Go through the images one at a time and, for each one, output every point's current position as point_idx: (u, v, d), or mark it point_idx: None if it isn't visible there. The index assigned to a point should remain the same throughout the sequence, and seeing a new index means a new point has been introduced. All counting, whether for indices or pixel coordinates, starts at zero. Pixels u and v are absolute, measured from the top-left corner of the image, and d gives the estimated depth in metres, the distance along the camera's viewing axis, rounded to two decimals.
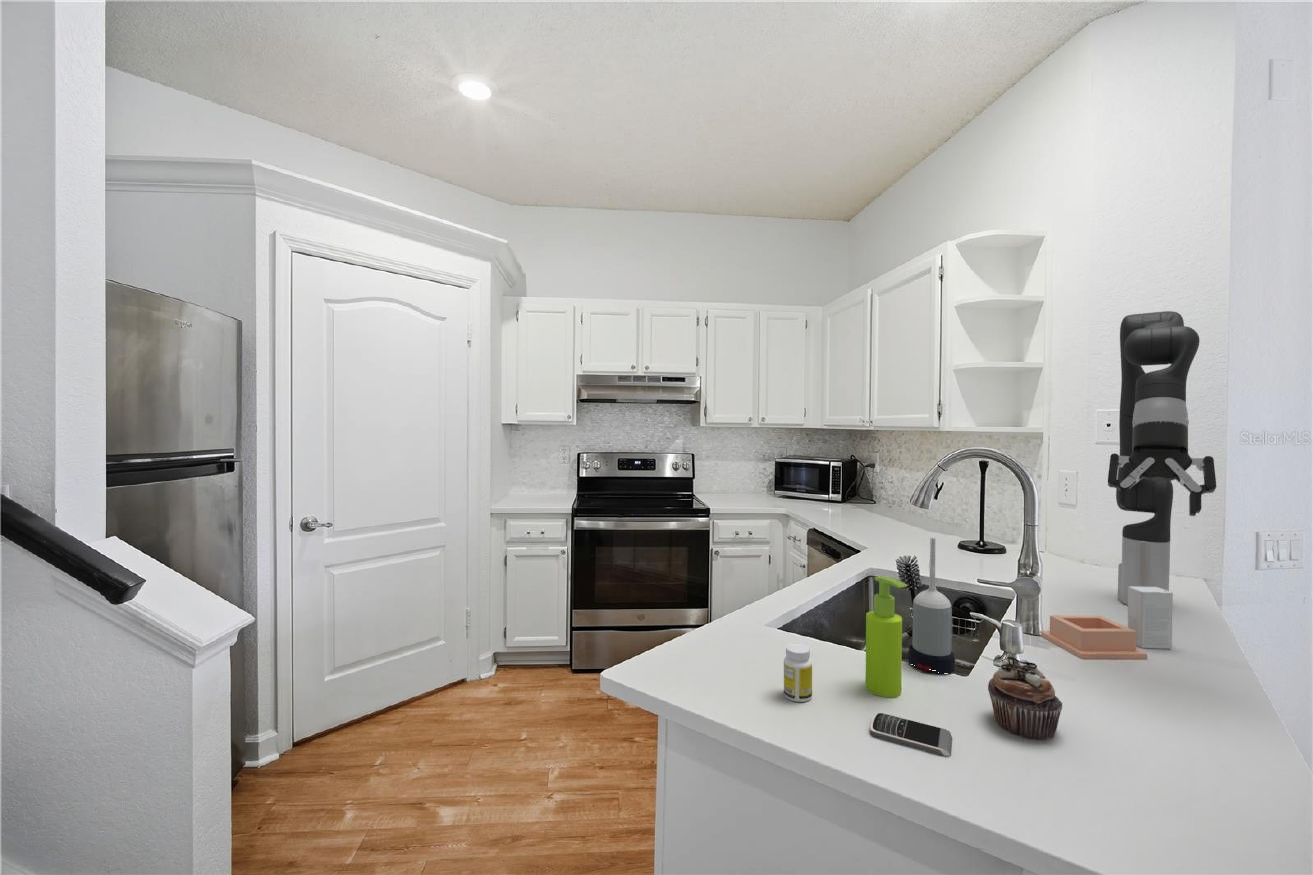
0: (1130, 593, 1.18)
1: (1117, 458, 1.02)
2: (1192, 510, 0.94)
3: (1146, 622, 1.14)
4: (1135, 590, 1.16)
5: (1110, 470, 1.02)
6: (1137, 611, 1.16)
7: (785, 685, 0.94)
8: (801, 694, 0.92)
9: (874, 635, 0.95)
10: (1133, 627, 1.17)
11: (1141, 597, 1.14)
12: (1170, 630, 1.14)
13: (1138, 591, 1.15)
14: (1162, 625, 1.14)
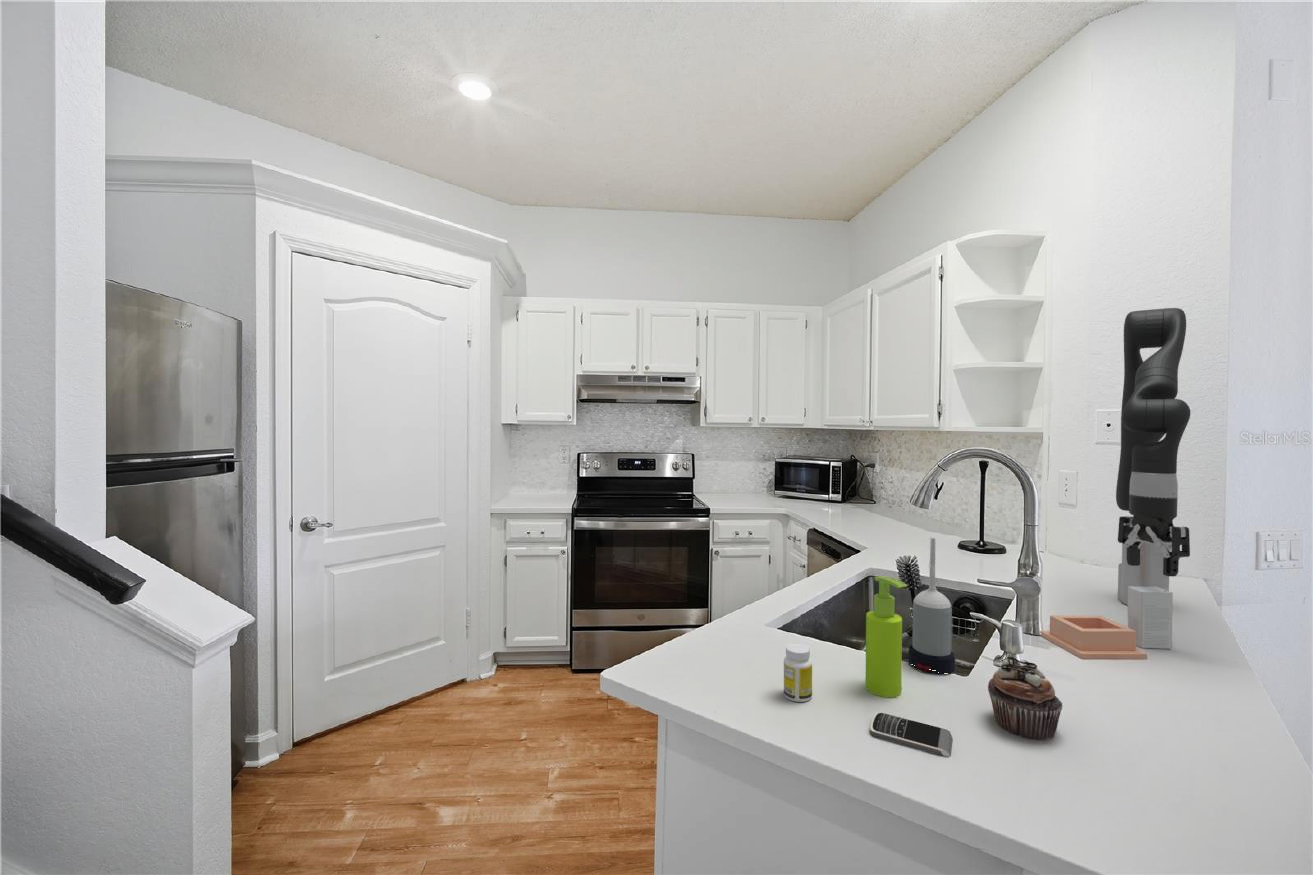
0: (1130, 593, 1.18)
1: (1123, 521, 1.21)
2: (1164, 573, 1.12)
3: (1146, 622, 1.14)
4: (1135, 590, 1.16)
5: (1119, 531, 1.22)
6: (1137, 611, 1.16)
7: (785, 685, 0.94)
8: (801, 694, 0.92)
9: (874, 635, 0.95)
10: (1133, 627, 1.17)
11: (1141, 597, 1.14)
12: (1170, 630, 1.14)
13: (1138, 591, 1.15)
14: (1162, 625, 1.14)
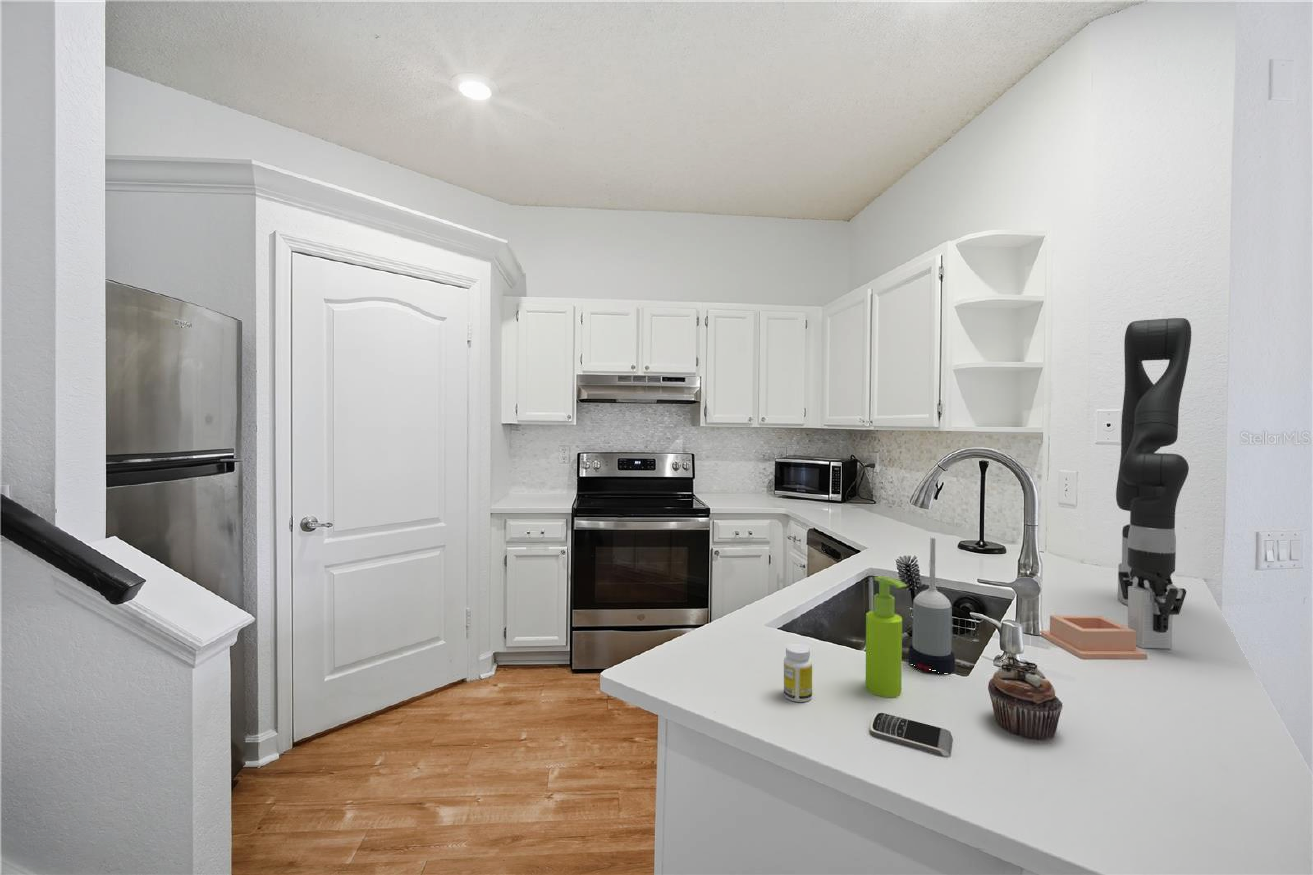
0: (1130, 593, 1.17)
1: (1122, 576, 1.22)
2: (1154, 629, 1.14)
3: (1146, 622, 1.14)
4: (1135, 590, 1.16)
5: (1121, 587, 1.22)
6: (1137, 611, 1.16)
7: (785, 685, 0.94)
8: (801, 694, 0.92)
9: (874, 635, 0.95)
10: (1133, 626, 1.17)
11: (1142, 597, 1.14)
12: (1170, 630, 1.14)
13: (1138, 591, 1.15)
14: None
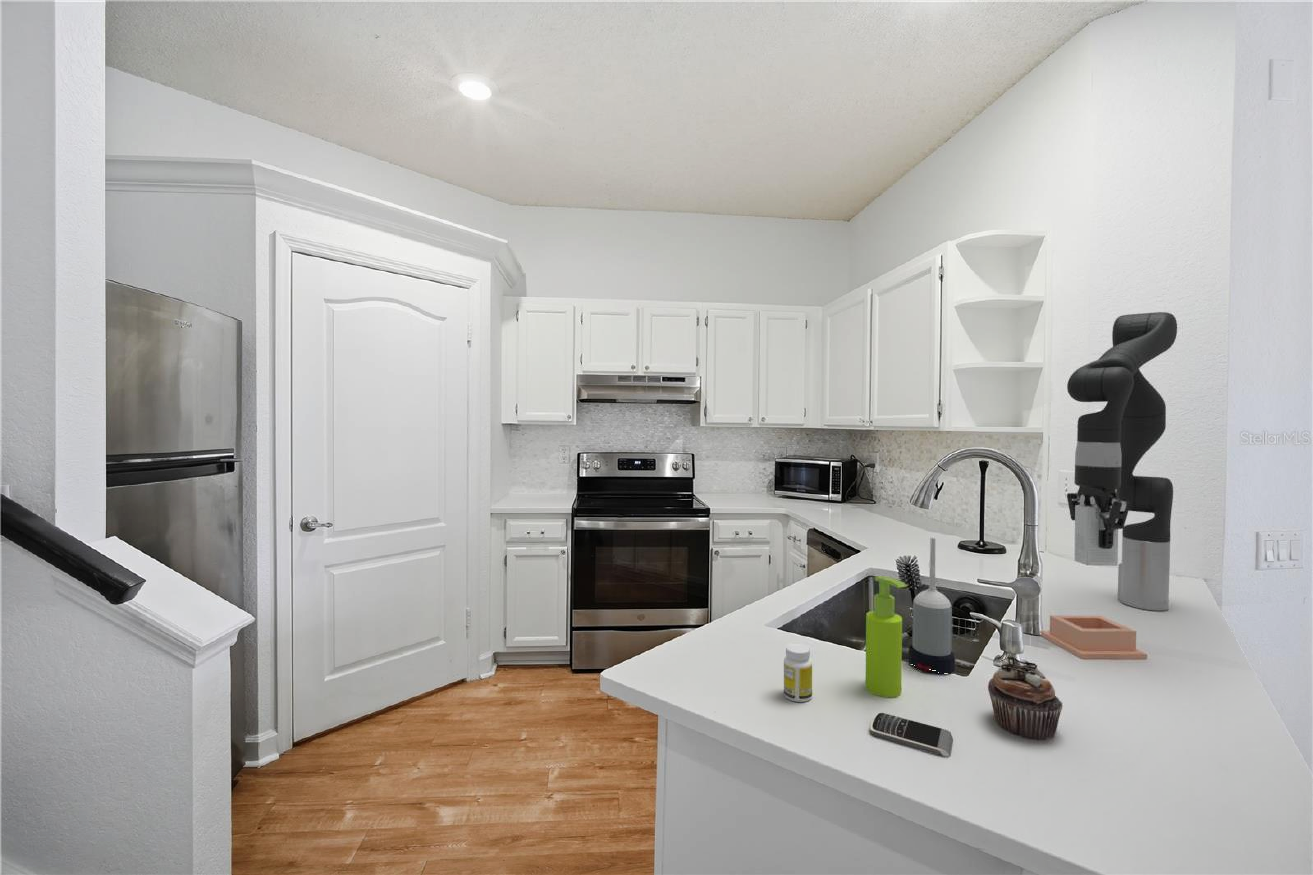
0: (1077, 511, 1.16)
1: (1070, 497, 1.20)
2: (1099, 545, 1.12)
3: (1092, 539, 1.13)
4: (1081, 507, 1.14)
5: (1070, 508, 1.20)
6: (1083, 528, 1.14)
7: (785, 685, 0.94)
8: (801, 694, 0.92)
9: (874, 635, 0.95)
10: (1079, 545, 1.15)
11: (1087, 514, 1.13)
12: (1116, 547, 1.12)
13: (1084, 508, 1.14)
14: None
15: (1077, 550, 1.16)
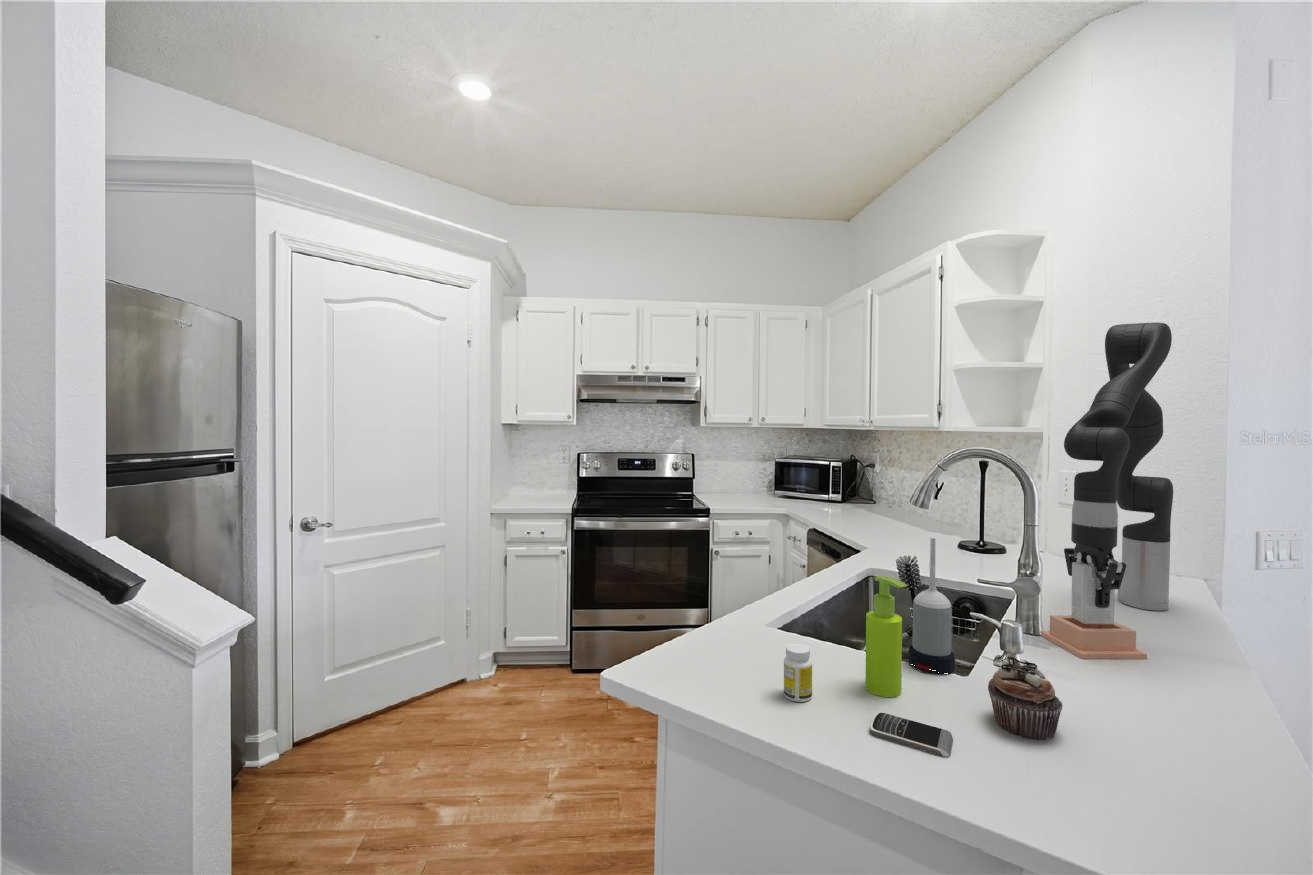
0: (1074, 569, 1.16)
1: (1067, 552, 1.21)
2: (1096, 604, 1.13)
3: (1088, 598, 1.13)
4: (1078, 566, 1.15)
5: (1067, 564, 1.21)
6: (1080, 586, 1.14)
7: (785, 685, 0.94)
8: (801, 694, 0.92)
9: (874, 635, 0.95)
10: (1076, 602, 1.16)
11: (1084, 572, 1.13)
12: (1113, 606, 1.13)
13: (1081, 566, 1.14)
14: None
15: (1074, 608, 1.16)
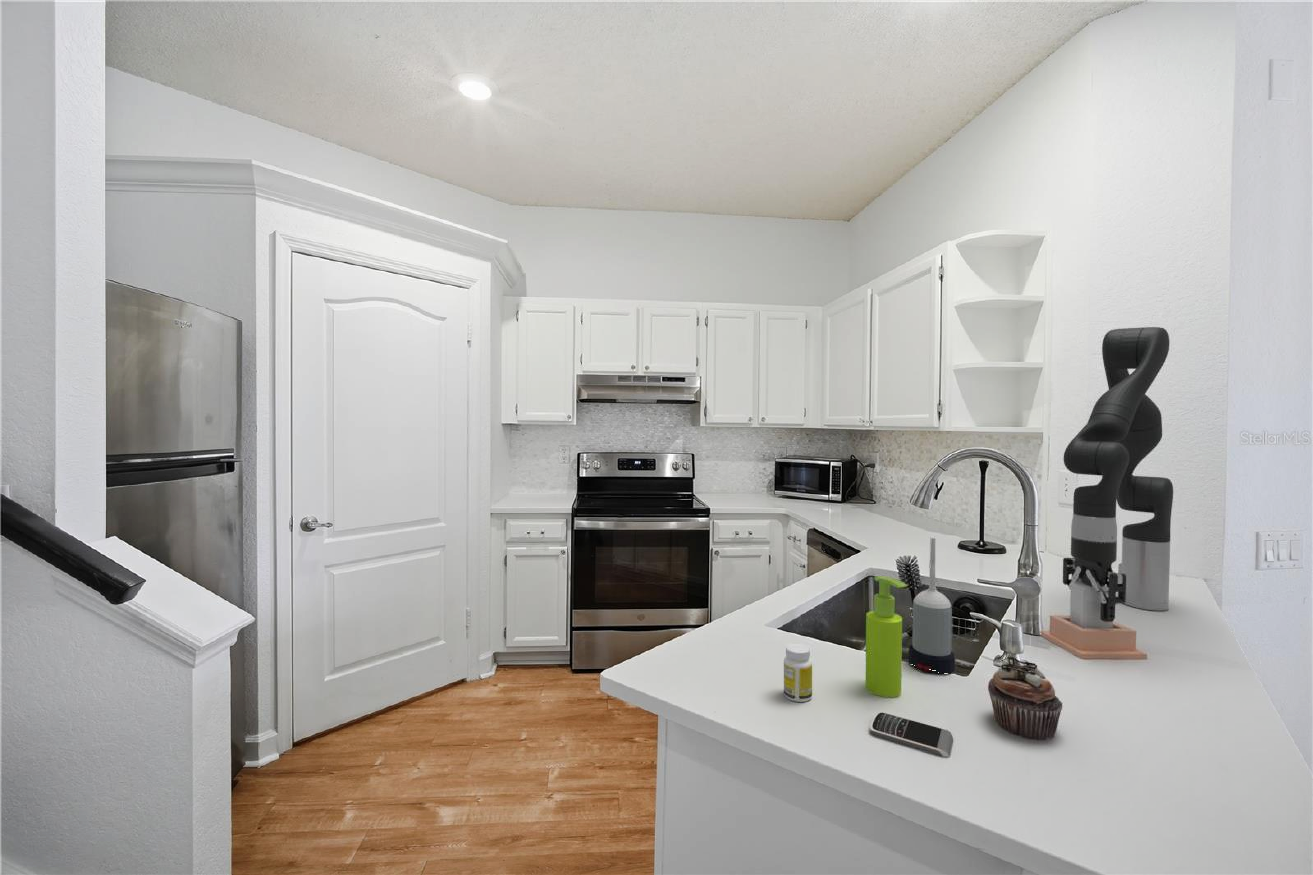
0: (1072, 589, 1.17)
1: (1066, 562, 1.21)
2: (1101, 618, 1.11)
3: (1088, 619, 1.14)
4: (1077, 586, 1.15)
5: (1063, 572, 1.22)
6: (1079, 607, 1.15)
7: (785, 685, 0.94)
8: (801, 694, 0.92)
9: (874, 635, 0.95)
10: (1075, 623, 1.16)
11: (1083, 594, 1.14)
12: (1111, 626, 1.13)
13: (1080, 587, 1.14)
14: (1103, 621, 1.13)
15: None
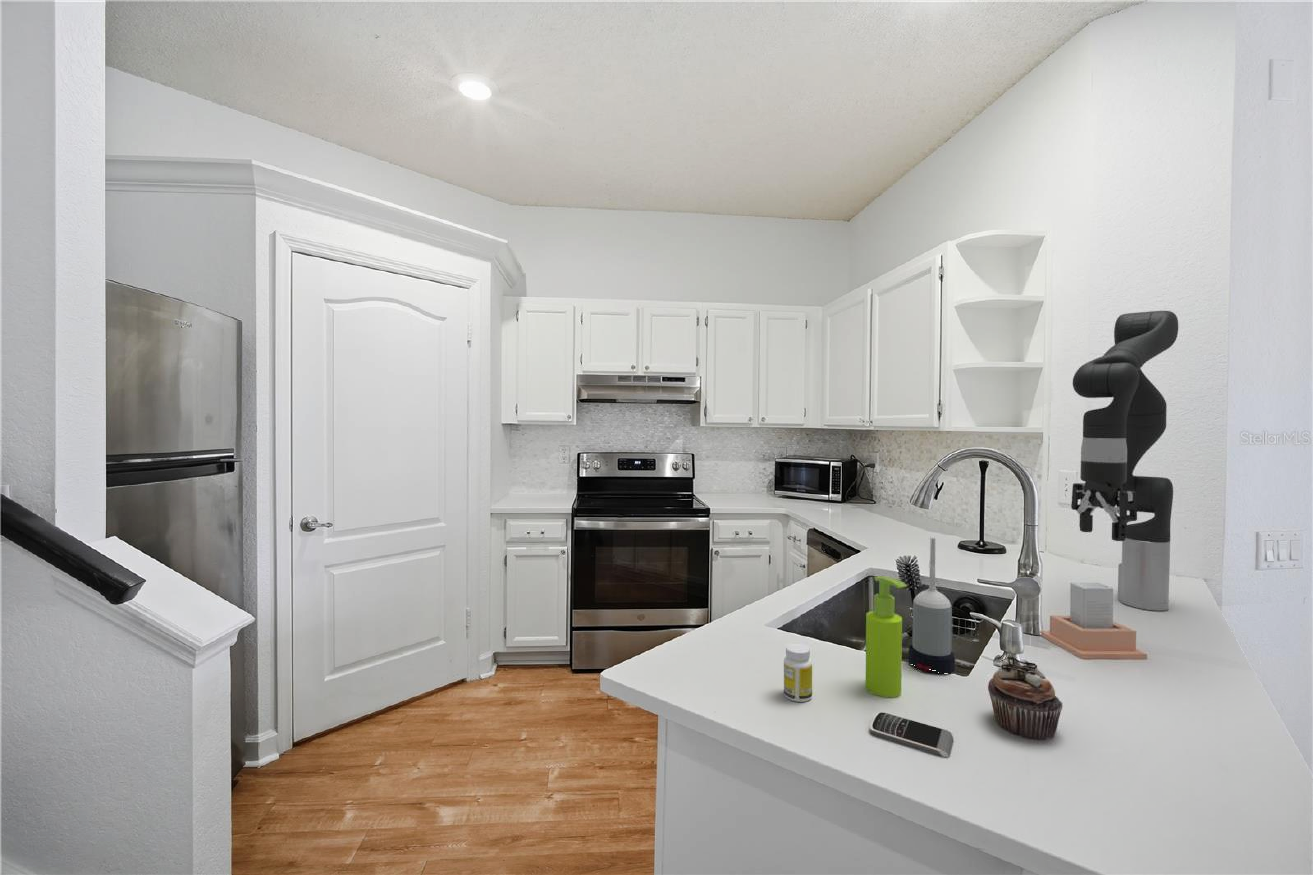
0: (1072, 589, 1.17)
1: (1076, 488, 1.21)
2: (1112, 538, 1.11)
3: (1088, 619, 1.14)
4: (1077, 586, 1.15)
5: (1072, 498, 1.22)
6: (1079, 607, 1.15)
7: (785, 685, 0.94)
8: (801, 694, 0.92)
9: (874, 635, 0.95)
10: (1075, 623, 1.16)
11: (1083, 594, 1.14)
12: (1111, 626, 1.13)
13: (1080, 587, 1.15)
14: (1103, 621, 1.13)
15: None
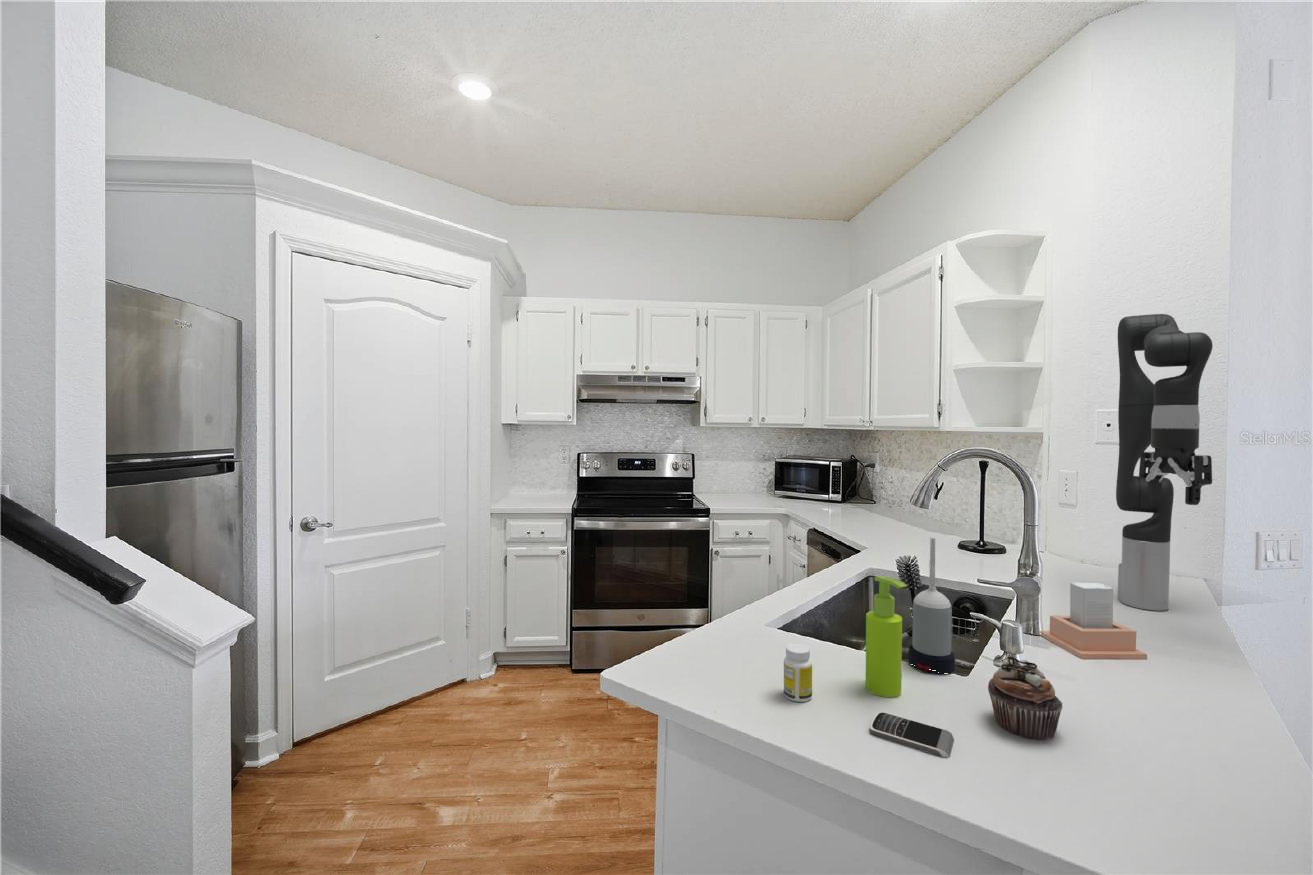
0: (1072, 589, 1.17)
1: (1144, 456, 1.24)
2: (1186, 502, 1.14)
3: (1088, 619, 1.14)
4: (1077, 586, 1.15)
5: (1140, 466, 1.25)
6: (1079, 607, 1.15)
7: (785, 685, 0.94)
8: (801, 694, 0.92)
9: (874, 635, 0.95)
10: (1075, 623, 1.16)
11: (1083, 594, 1.14)
12: (1111, 626, 1.13)
13: (1080, 587, 1.15)
14: (1103, 621, 1.13)
15: None
